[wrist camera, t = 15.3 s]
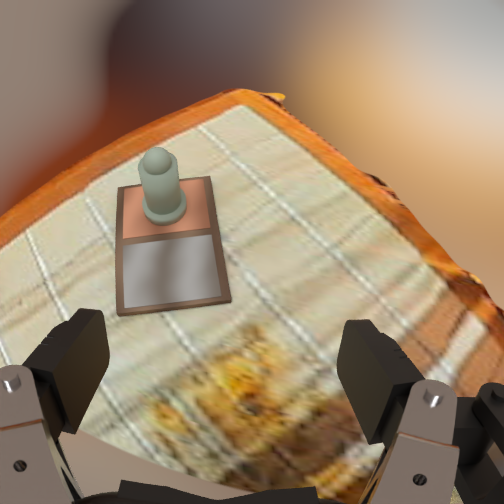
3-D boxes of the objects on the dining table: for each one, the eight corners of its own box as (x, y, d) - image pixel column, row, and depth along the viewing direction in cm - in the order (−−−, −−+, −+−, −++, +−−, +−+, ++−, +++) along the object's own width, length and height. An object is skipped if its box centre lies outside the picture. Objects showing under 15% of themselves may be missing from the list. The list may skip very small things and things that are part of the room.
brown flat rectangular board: (210, 180, 45) (210, 175, 44) (230, 302, 37) (231, 299, 36) (119, 192, 42) (117, 187, 41) (119, 316, 34) (116, 313, 33)
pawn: (184, 188, 42) (180, 131, 34) (188, 222, 40) (183, 166, 31) (143, 193, 41) (130, 137, 33) (144, 228, 39) (128, 174, 30)
